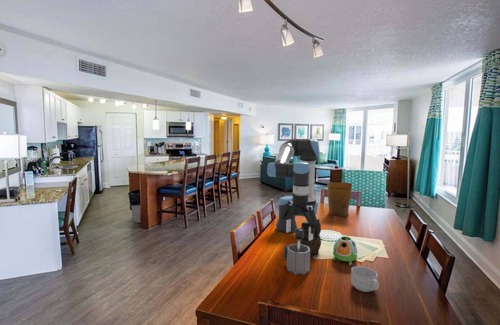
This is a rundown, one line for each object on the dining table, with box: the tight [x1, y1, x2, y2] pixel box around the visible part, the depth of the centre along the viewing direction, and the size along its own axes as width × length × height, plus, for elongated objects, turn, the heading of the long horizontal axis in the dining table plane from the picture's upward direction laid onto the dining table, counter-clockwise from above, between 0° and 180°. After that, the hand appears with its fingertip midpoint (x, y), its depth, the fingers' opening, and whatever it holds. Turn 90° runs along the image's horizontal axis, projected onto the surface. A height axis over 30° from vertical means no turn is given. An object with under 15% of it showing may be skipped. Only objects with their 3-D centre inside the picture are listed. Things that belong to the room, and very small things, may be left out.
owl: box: [300, 218, 322, 258], centre depth 154 cm, size 13×13×20 cm
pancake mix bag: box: [326, 181, 353, 217], centre depth 226 cm, size 7×19×28 cm, turn 63°
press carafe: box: [283, 243, 311, 276], centre depth 138 cm, size 14×11×11 cm
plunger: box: [294, 227, 304, 252], centre depth 137 cm, size 8×8×19 cm
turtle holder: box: [332, 235, 358, 266], centre depth 150 cm, size 12×18×12 cm
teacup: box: [350, 265, 380, 293], centre depth 120 cm, size 14×11×8 cm
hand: (299, 235), depth 136 cm, fingers open, 13 cm apart
